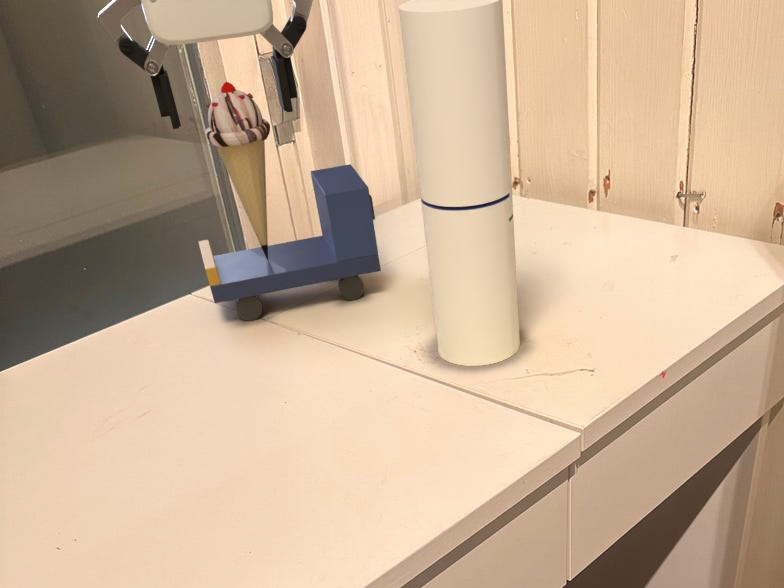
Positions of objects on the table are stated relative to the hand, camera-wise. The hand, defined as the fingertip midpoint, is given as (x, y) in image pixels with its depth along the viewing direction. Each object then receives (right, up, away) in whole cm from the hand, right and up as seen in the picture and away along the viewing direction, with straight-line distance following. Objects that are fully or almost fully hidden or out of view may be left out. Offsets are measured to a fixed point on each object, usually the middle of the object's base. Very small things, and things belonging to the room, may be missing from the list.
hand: (232, 116), depth 79 cm
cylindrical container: (+22, -20, 0) cm, 30 cm away
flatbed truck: (+3, -11, +11) cm, 16 cm away
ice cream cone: (+1, -9, +9) cm, 13 cm away
